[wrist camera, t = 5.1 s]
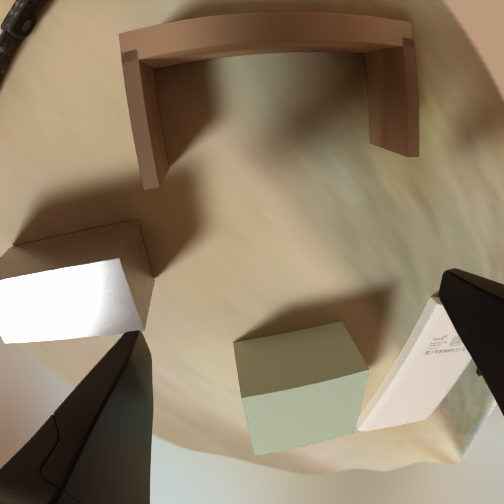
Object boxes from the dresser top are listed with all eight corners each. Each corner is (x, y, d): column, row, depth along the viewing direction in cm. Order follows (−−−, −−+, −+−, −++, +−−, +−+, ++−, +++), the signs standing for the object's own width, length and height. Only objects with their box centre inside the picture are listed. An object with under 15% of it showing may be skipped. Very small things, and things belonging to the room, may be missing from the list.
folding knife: (-17, 154, 11) (-40, 164, 9) (-30, 146, 10) (-54, 155, 8) (129, -88, 7) (121, -108, 5) (111, -92, 6) (102, -112, 5)
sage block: (341, 318, 17) (369, 369, 14) (334, 386, 20) (354, 432, 16) (232, 339, 17) (241, 397, 13) (246, 404, 20) (254, 455, 16)
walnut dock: (371, 32, 11) (411, 22, 8) (379, 143, 13) (419, 156, 10) (137, 48, 10) (118, 34, 7) (156, 170, 12) (144, 190, 10)
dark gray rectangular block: (137, 219, 13) (119, 258, 10) (154, 280, 14) (144, 330, 11) (10, 247, 12) (-27, 285, 9) (32, 299, 14) (5, 343, 11)
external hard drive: (351, 417, 23) (426, 291, 18) (422, 406, 25) (492, 297, 20) (358, 432, 22) (439, 306, 17) (429, 418, 23) (505, 308, 18)
